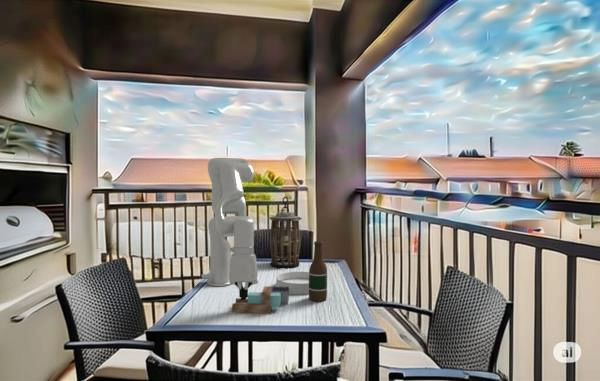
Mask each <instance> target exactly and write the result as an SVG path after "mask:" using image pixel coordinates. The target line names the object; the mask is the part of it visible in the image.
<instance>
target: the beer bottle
mask: <svg viewBox="0 0 600 381" xmlns="http://www.w3.org/2000/svg"><path fill="white" fill-rule="evenodd" d="M323 244H324V242H323V241H321V240H315V241H314V243H313V245H314V250H313V251H314V252H313V261H312V262H311V264H310V266H309V270H308V272H309V294H308V300H310V301H311V302H315V303H316V302H318V303H319V302H320V303H321V302H326V301H327V298H328V269H327V268H328V267H327V265H326V263H325V261H324V258H323V257H324V256H323Z"/></svg>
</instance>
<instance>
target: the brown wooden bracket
mask: <svg viewBox="0 0 600 381" xmlns="http://www.w3.org/2000/svg"><path fill="white" fill-rule="evenodd" d="M261 292H262V304H248V297H246V300H241V297H238V298H235V302H233V303H232V304H231V306H232V308H231V310H232V311H231V313H232V312H241V313H240V314H271V311H272V308H273V306H270V294H271V293H272V287H270V286H267V285H266V286H264V287H263V289H262V291H261Z"/></svg>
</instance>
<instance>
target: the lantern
mask: <svg viewBox="0 0 600 381" xmlns="http://www.w3.org/2000/svg"><path fill="white" fill-rule="evenodd" d="M285 199H286V201H285ZM282 203H283V205H284V206H283V207H282V208H281V211H279V212H276V214H275V215H272V216H270V217H268V219H269V220H270V221H271V223H270V224H271V225H270V233H269V248H270V255H271V262H270V265H271V266H270V267H272V268H274V267H275V268H274V269H280V268H285V269H284V270H287V269H288V268H289V269H295V268H298V267H299V266H300V262H299V257H300V252H301V242H302V241H301V232H300V220H302V217H300V216H298V215H295V212H292V211H290V209H289V208H288V206H287V204H288V203H289V198H288V197H287V196H284V197H282ZM286 209H287V211H284V210H286ZM278 245H279V246H278ZM284 246H285V248H284ZM278 248H279V252H278ZM284 250H285V251H284ZM278 255H279V256H278Z"/></svg>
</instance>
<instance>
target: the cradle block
mask: <svg viewBox="0 0 600 381" xmlns="http://www.w3.org/2000/svg"><path fill="white" fill-rule="evenodd" d="M269 287H272V293H281V303H280V306H282V305H283V306H284V305H285V306H288V305H289V300H290V294H289V287H277V286H276V285H274V286H269Z"/></svg>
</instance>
